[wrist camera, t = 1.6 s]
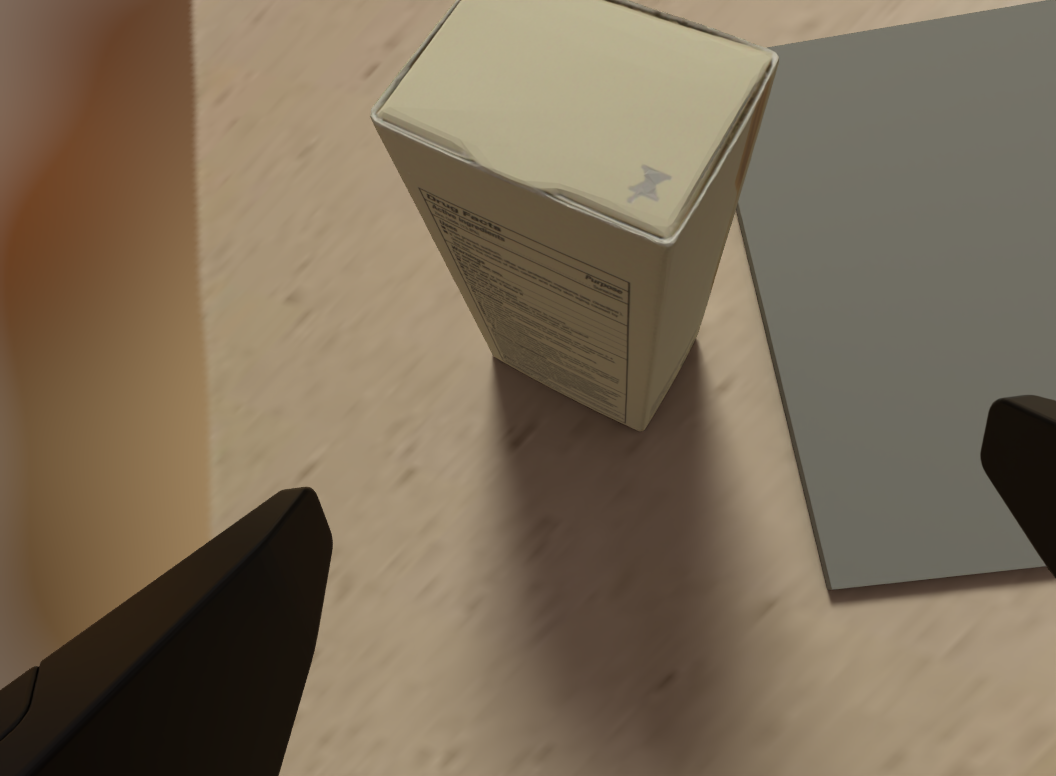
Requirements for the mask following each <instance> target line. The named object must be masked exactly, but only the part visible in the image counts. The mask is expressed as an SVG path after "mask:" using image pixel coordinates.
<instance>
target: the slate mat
mask: <svg viewBox="0 0 1056 776" xmlns="http://www.w3.org/2000/svg"><path fill="white" fill-rule="evenodd" d="M768 49H770V50H772V51H774V52H776V53H777V55H778V57H779V64H778V68H777V71H776V75H775V78H774V81H773V85H772V89H771V92H770V96H769V99H768V103H767V106H766V109H765V112H764V116H763V119H762V123H761V126H760V130H759V133H758V136H757V140H756V143H755V146H754V150H753V153H752V157H751V161H750V164H749V167H748V171H747V174H746V177H745V181H744V184H743V187H742V190H741V194H740V197H739V201H738V204H737V208H736V211H737V215H738V219H739V223H740V227H741V232H742V236H743V240H744V244H745V248H746V252H747V256H748V261H749V265H750V269H751V273H752V277H753V281H754V286H755V290H756V294H757V298H758V302H759V306H760V311H761V315H762V319H763V323H764V327H765V331H766V335H767V340H768V344H769V348H770V352H771V356H772V360H773V365H774V369H775V373H776V377H777V381H778V385H779V390H780V394H781V398H782V402H783V406H784V410H785V414H786V419H787V423H788V427H789V431H790V435H791V439H792V444H793V448H794V452H795V456H796V460H797V464H798V469H799V473H800V477H801V481H802V485H803V489H804V493H805V498H806V502H807V506H808V510H809V514H810V518H811V523H812V527H813V531H814V535H815V539H816V543H817V548H818V552H819V556H820V560H821V564H822V568H823V572H824V577H825V581H826V585H827V589H828V590H833V589H843V588H852V587H861V586H870V585H879V584H888V583H897V582H906V581H915V580H925V579H934V578H943V577H952V576H961V575H970V574H979V573H988V572H997V571H1006V570H1016V569H1025V568H1034V567H1043V566H1046V565H1045V563H1044V562H1043V560H1042V559H1041V558H1040V556H1039V555H1038V553H1037V552H1036V550H1035V549H1034V547H1033V546H1032V544H1031V543H1030V541H1029V539H1028V538H1027V536H1026V535H1025V533H1024V532H1023V530H1022V529H1021V527H1020V526H1019V524H1018V523H1017V521H1016V519H1015V518H1014V516H1013V515H1012V513H1011V512H1010V510H1009V509H1008V507H1007V506H1006V504H1005V503H1004V501H1003V499H1002V498H1001V496H1000V495H999V493H998V492H997V490H996V489H995V487H994V486H993V484H992V483H991V481H990V479H989V478H988V476H987V475H986V473H985V471H984V469H983V467H982V464H981V458H980V452H981V446H982V441H983V436H984V431H985V427H986V422H987V417H988V412H989V409H990V406H991V405H992V403H993V402H994V401H996V400H997V399H999V398H1005V397H1012V396H1020V395H1036V396H1040V397H1044V398H1048V399H1052V400H1056V0H1046V1H1040V2H1034V3H1028V4H1022V5H1017V6H1011V7H1005V8H999V9H993V10H987V11H981V12H975V13H969V14H963V15H957V16H951V17H945V18H940V19H934V20H928V21H922V22H916V23H910V24H904V25H898V26H892V27H886V28H880V29H874V30H868V31H863V32H857V33H851V34H845V35H839V36H833V37H827V38H821V39H815V40H809V41H803V42H797V43H792V44H786V45H780V46H774V47H768Z"/></svg>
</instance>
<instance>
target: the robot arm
mask: <svg viewBox="0 0 1056 776" xmlns="http://www.w3.org/2000/svg"><path fill="white" fill-rule="evenodd" d="M980 458H981V464H982V467H983V469H984V471H985V473H986V475H987V476H988V478H989V479H990V481H991V483H992V484H993V486H994V487H995V489H996V490H997V492H998V493H999V495H1000V496H1001V498H1002V499H1003V501H1004V503H1005V504H1006V506H1007V507H1008V509H1009V510H1010V512H1011V513H1012V515H1013V516H1014V518H1015V519H1016V521H1017V523H1018V524H1019V526H1020V527H1021V529H1022V530H1023V532H1024V533H1025V535H1026V536H1027V538H1028V539H1029V541H1030V543H1031V544H1032V546H1033V547H1034V549H1035V550H1036V552H1037V553H1038V555H1039V556H1040V558H1041V559H1042V560H1043V562H1044V563H1045V565H1046V566H1047V568H1048V569H1049V570H1050V572H1051V573H1052V574H1053V576H1054V577H1055V578H1056V400H1052V399H1048V398H1044V397H1040V396H1036V395H1020V396H1012V397H1005V398H999V399H997V400H996V401H994V402H993V403H992V405H991V406H990V409H989V412H988V417H987V422H986V427H985V431H984V436H983V441H982V446H981V452H980ZM332 549H333V540H332V534H331V531H330V528H329V525H328V523H327V520H326V517H325V515H324V512H323V509H322V507H321V504H320V501H319V499H318V496H317V494H316V492H315V491H314V490H313V489H312V488H310V487H300V488H292V489H284V490H281V491H279V492H278V493H276V494H275V495H274V496H272V497H271V498H269V499H268V500H267V501H265V502H264V503H262V504H261V505H260V506H258V507H257V508H255V509H254V510H253V511H251V512H250V513H248V514H247V515H246V516H244V517H243V518H241V519H240V520H239V521H237V522H236V523H234V524H233V525H232V526H230V527H229V528H227V529H226V530H225V531H223V532H222V533H220V534H219V535H218V536H216V537H215V538H213V539H212V540H211V541H209V542H208V543H206V544H205V545H204V546H202V547H201V548H199V549H198V550H196V551H195V552H194V553H192V554H191V555H190V556H188V557H187V558H185V559H184V560H182V561H181V562H180V563H178V564H177V565H175V566H174V567H173V568H172V569H170V570H168V571H167V572H166V573H164V574H163V575H161V576H160V577H159V578H157V579H156V580H154V581H153V582H152V583H150V584H149V585H147V586H146V587H145V588H143V589H142V590H140V591H139V592H138V593H136V594H135V595H133V596H132V597H131V598H129V599H128V600H126V601H125V602H124V603H122V604H121V605H119V606H118V607H117V608H115V609H114V610H112V611H111V612H109V613H108V614H107V615H105V616H104V617H103V618H101V619H100V620H98V621H97V622H95V623H94V624H93V625H91V626H90V627H88V628H87V629H86V630H84V631H83V632H81V633H80V634H79V635H77V636H76V637H74V638H73V639H72V640H70V641H69V642H67V643H66V644H65V645H63V646H62V647H61V648H59V649H58V650H56V651H55V652H53V653H52V654H51V655H50V656H48V657H46V658H45V659H44V660H42V661H41V663H40V666H39V667H37V666H34V667H32V668H31V669H29V670H28V671H26V672H25V673H24V674H22V675H21V676H19V677H18V678H17V679H15V680H14V681H12V682H11V683H10V684H8V685H7V686H5V687H4V688H3V689H2V690H0V776H279V772H280V769H281V766H282V762H283V759H284V755H285V752H286V748H287V745H288V741H289V738H290V735H291V731H292V728H293V724H294V721H295V717H296V714H297V711H298V707H299V704H300V700H301V697H302V693H303V690H304V687H305V683H306V680H307V676H308V673H309V669H310V666H311V662H312V658H313V654H314V651H315V646H316V641H317V636H318V631H319V625H320V620H321V614H322V608H323V602H324V596H325V590H326V585H327V579H328V573H329V567H330V561H331V556H332Z"/></svg>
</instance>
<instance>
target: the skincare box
mask: <svg viewBox="0 0 1056 776" xmlns="http://www.w3.org/2000/svg"><path fill="white" fill-rule="evenodd" d="M778 64H779V57H778V55H777V53H776V52H774V51H772V50H770V49H768V48H765V47H762V46H759V45H756V44H753V43H750V42H748V41H746V40H744V39H741V38H738V37H735V36H732V35H729V34H726V33H723V32H721V31H719V30H716V29H714V28H709V27H707V26H704V25H702V24H699V23H696V22H692V21H689V20H687V19H685V18H682V17H678V16H674V15H671V14H668V13H666V12H663V11H660V10H657V9H652V8H649V7H646V6H643V5H641V4H638V3H635V2H632V1H629V0H455V1H454V3H453V4H452V5H451V7H450V8H449V9H448V10H447V12H446V13H445V14H444V16H443V17H442V18H441V19H440V20H439V21H438V23H437V24H436V25H435V26H434V28H433V29H432V30H431V32H430V33H429V34H428V36H427V37H426V38H425V40H424V41H423V42H422V44H421V45H420V46H419V48H418V49H417V50H416V51H415V52H414V54H413V55H412V56H411V57H410V59H409V60H408V61H407V63H406V64H405V65H404V66H403V68H402V69H401V70H400V72H399V73H398V74H397V76H396V77H395V78H394V80H393V81H392V82H391V84H390V85H389V86H388V88H387V89H386V90H385V91H384V93H383V94H382V95H381V97H380V98H379V99H378V100H377V102H376V103H375V104H374V106H373V107H372V109H371V116H370V117H371V119H372V122H373V124H374V126H375V128H376V130H377V132H378V134H379V136H380V138H381V140H382V141H383V143H384V145H385V147H386V149H387V151H388V153H389V155H390V157H391V159H392V161H393V162H394V164H395V166H396V168H397V170H398V172H399V174H400V176H401V178H402V180H403V182H404V184H405V185H406V187H407V189H408V191H409V193H410V195H411V197H412V199H413V201H414V203H415V205H416V207H417V208H418V210H419V212H420V214H421V216H422V218H423V220H424V222H425V224H426V226H427V228H428V230H429V232H430V234H431V236H432V238H433V240H434V242H435V244H436V246H437V248H438V249H439V251H440V253H441V255H442V257H443V259H444V261H445V263H446V265H447V267H448V269H449V271H450V273H451V275H452V277H453V279H454V281H455V283H456V285H457V286H458V288H459V290H460V292H461V294H462V296H463V298H464V300H465V302H466V304H467V306H468V308H469V310H470V311H471V313H472V315H473V317H474V319H475V321H476V323H477V325H478V327H479V329H480V331H481V333H482V335H483V337H484V339H485V341H486V342H487V344H488V346H489V349H490V351H491V352H492V354H493V356H494V357H496V358H497V359H499V360H501V361H502V362H504V363H506V364H508V365H510V366H511V367H513V368H515V369H517V370H518V371H520V372H522V373H524V374H526V375H527V376H529V377H531V378H533V379H535V380H537V381H539V382H540V383H542V384H544V385H546V386H548V387H550V388H552V389H554V390H556V391H558V392H560V393H562V394H564V395H565V396H567V397H569V398H571V399H573V400H575V401H577V402H579V403H581V404H583V405H585V406H587V407H589V408H591V409H593V410H595V411H597V412H599V413H601V414H603V415H605V416H607V417H609V418H612V419H614V420H616V421H618V422H620V423H622V424H624V425H627V426H629V427H631V428H633V429H635V430H637V431H640V432H641V431H644V430H645V429H646V427H647V425H648V424H649V422H650V420H651V419H652V417H653V415H654V414H655V412H656V410H657V409H658V407H659V405H660V404H661V402H662V400H663V399H664V397H665V395H666V393H667V392H668V390H669V388H670V386H671V385H672V383H673V381H674V379H675V378H676V376H677V374H678V372H679V370H680V368H681V367H682V365H683V363H684V361H685V359H686V357H687V355H688V353H689V351H690V349H691V347H692V345H693V343H694V341H695V339H696V337H697V335H698V332H699V329H700V325H701V322H702V319H703V316H704V313H705V309H706V306H707V303H708V300H709V296H710V293H711V290H712V286H713V283H714V279H715V276H716V273H717V270H718V266H719V263H720V259H721V256H722V253H723V250H724V246H725V243H726V240H727V237H728V233H729V230H730V227H731V224H732V221H733V217H734V214H735V211H736V208H737V204H738V201H739V197H740V194H741V190H742V187H743V184H744V181H745V177H746V174H747V171H748V167H749V164H750V161H751V157H752V153H753V150H754V146H755V143H756V140H757V136H758V133H759V130H760V126H761V123H762V119H763V116H764V112H765V109H766V106H767V103H768V99H769V96H770V92H771V89H772V85H773V81H774V78H775V75H776V71H777V68H778Z"/></svg>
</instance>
